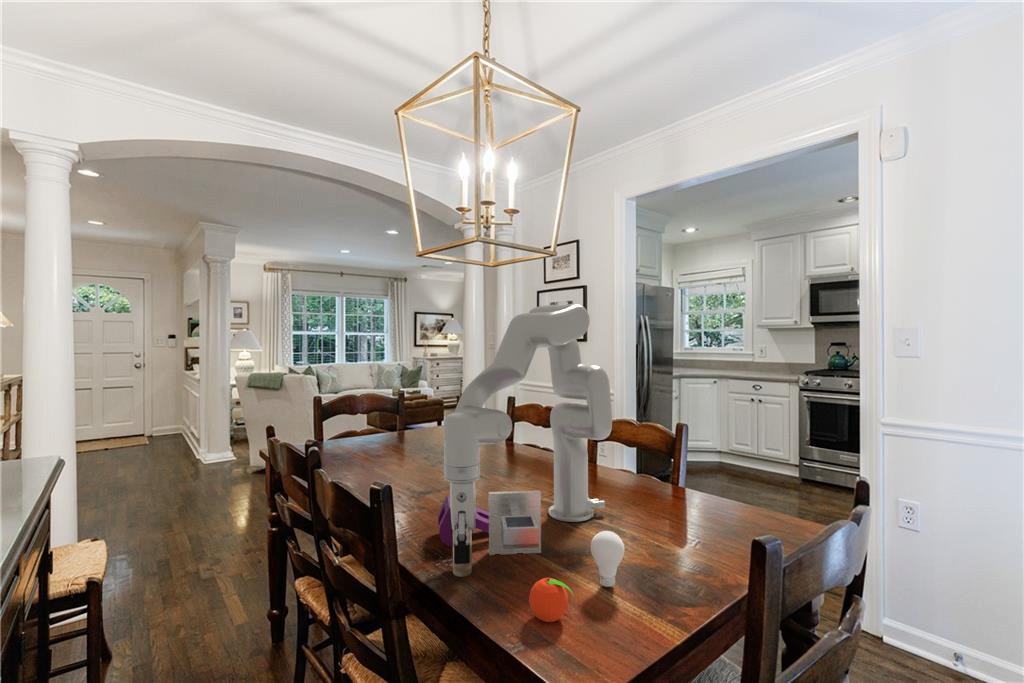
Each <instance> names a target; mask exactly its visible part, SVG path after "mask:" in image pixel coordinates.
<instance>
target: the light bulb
mask: <svg viewBox="0 0 1024 683" xmlns="http://www.w3.org/2000/svg"><path fill="white" fill-rule="evenodd" d="M590 542H591V543H590V553H591V556H592V557H593V559H594V562H595V563H596V566H597V567H598V573H599V575H600V577H599V583H600V585H602V586H603V587H605V588H611V587H614V586H615V584H616V577H615V576H616V574H617V569H618V567H619V565H620V564H621V562H622V560H623V558H624V555H625V550H626V549H625V544H624V541H623V540H622V538H621V537H620V536H619V535H618V534H617V533H615V532H613V531H611V530H603V531H599V532H598V533H597V534H595V535H594V537H593V538H592V540H591V541H590Z"/></svg>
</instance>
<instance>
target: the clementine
mask: <svg viewBox="0 0 1024 683" xmlns="http://www.w3.org/2000/svg"><path fill="white" fill-rule="evenodd" d="M566 589H567V590H568V591H569V592H570V593H571V594H572V597H573V598H575V596H574V593H573V591H572V590H571V588H570V587H569V586H568V585H566V584H565V583H564V582H562V581H561V580H557V579H556V578H553V577H544V578H543V577H542V578H541V579H539V580H538V581H536V582H535V583H534V584H533V585H532V587H531V589H530V592H529V599H528V601H529V606H530V609H531V611H532V613H533V615H534V616H535V617H536V618H537V619H539V620H540V621H543V622H545V623H553V622H556V621H558V620H561V619H562V618H563V616H564V615H565V614H566V612H567V610H568V607H569V595H568V592H567V590H566Z"/></svg>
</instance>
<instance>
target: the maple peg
mask: <svg viewBox="0 0 1024 683" xmlns="http://www.w3.org/2000/svg"><path fill="white" fill-rule="evenodd" d="M465 528H467V526H465ZM457 529H459V526H457ZM472 534H473V533H472V529H469V543H470V563H469V564H455V563H454V544H455V531H454V530H453V547H452V574H453V575H454V576H456V577H460V578H462V577H468V576H470V575H471V574H472V572H473V560H472V559H473V558H472V557H473V555H472V554H473V553H472V552H473V551H472V550H473V547H472V546H473V544H472V543H473V541H472V540H473V539H472V536H473V535H472ZM458 535H459V532H458ZM465 535H466V532H465Z"/></svg>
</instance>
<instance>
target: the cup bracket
mask: <svg viewBox="0 0 1024 683" xmlns="http://www.w3.org/2000/svg"><path fill="white" fill-rule="evenodd" d="M488 512H489V533H488V554H489V556H494V555H495V554H500V555H518V554H517V553H523V554H541V553H542V492H541V490H540V489H539V490H515V491H514V490H513V491H488ZM495 556H496V555H495Z"/></svg>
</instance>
